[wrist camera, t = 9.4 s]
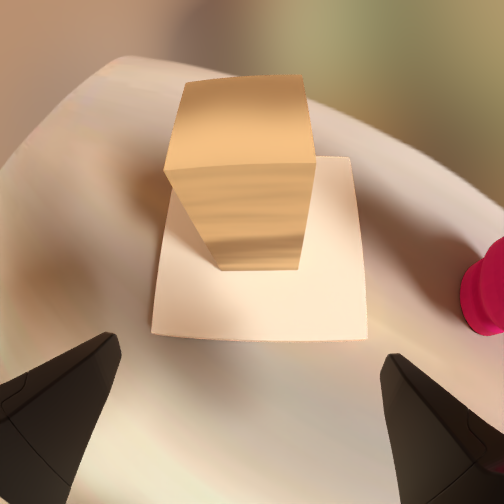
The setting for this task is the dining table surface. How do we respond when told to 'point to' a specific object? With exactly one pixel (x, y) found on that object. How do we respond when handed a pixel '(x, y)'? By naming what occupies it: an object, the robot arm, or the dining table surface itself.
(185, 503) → the dining table surface
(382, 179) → the dining table surface
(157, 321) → the plate
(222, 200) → the oak block
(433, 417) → the robot arm
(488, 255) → the pepper mill
